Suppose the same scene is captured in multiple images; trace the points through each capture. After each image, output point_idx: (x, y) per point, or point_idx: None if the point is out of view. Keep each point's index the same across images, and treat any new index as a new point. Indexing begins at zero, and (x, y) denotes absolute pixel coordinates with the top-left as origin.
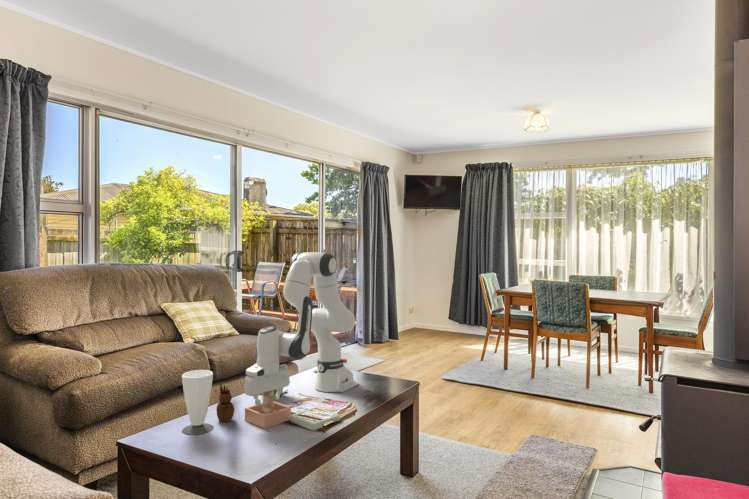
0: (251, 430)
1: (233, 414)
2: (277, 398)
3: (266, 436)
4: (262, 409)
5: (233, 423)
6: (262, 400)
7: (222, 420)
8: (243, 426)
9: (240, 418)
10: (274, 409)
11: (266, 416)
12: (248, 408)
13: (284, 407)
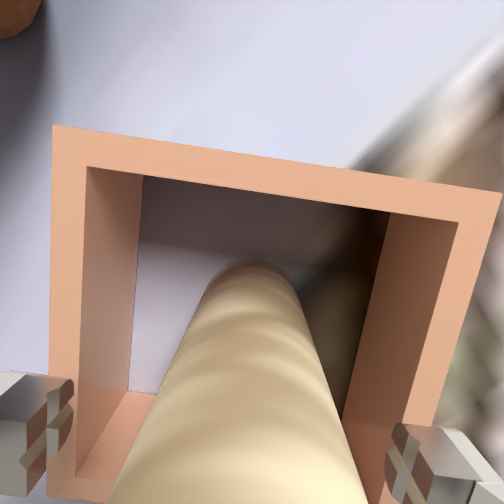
0: (25, 350)
1: (6, 19)
2: (398, 491)
3: (33, 495)
4: (188, 327)
5: (9, 111)
6: (155, 399)
7: None
8: (29, 241)
9: (128, 64)
10: (397, 278)
11: (77, 490)
12: (75, 180)
13: (381, 467)
